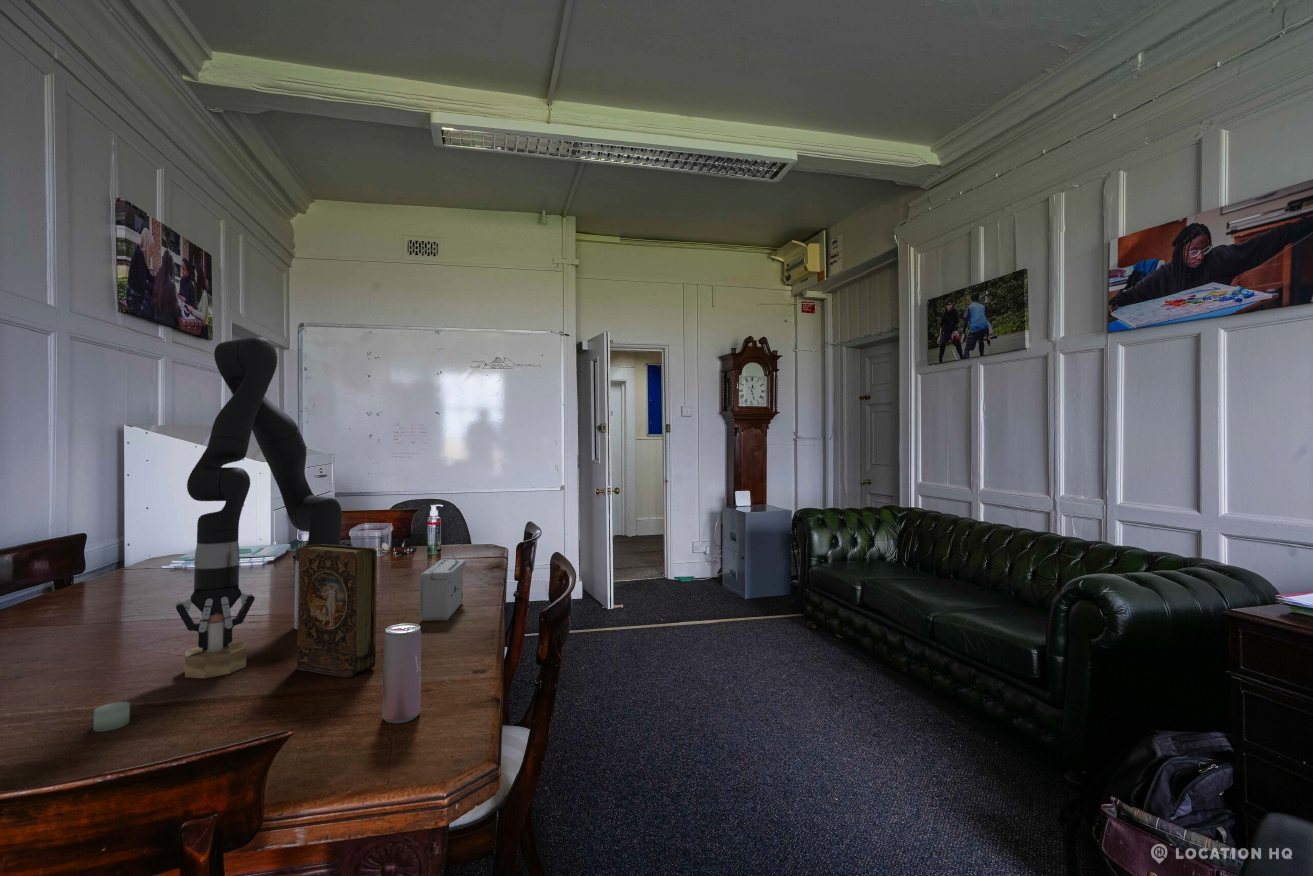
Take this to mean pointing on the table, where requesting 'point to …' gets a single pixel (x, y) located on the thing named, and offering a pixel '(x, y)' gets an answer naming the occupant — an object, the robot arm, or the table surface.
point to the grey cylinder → (215, 633)
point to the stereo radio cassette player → (441, 589)
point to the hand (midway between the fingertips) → (214, 647)
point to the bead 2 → (215, 661)
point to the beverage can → (401, 673)
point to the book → (337, 609)
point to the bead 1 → (111, 716)
